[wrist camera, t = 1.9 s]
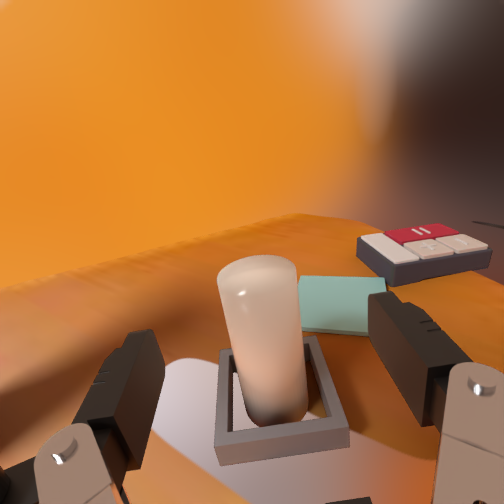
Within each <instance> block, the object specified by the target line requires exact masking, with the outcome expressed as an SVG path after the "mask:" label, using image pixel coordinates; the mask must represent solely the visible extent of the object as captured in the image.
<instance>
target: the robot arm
mask: <svg viewBox="0 0 504 504" xmlns="http://www.w3.org/2000/svg"><path fill="white" fill-rule="evenodd" d="M368 334H369V338H370V341H371V343H372V345H373V347H374V349H375V350H376V352H377V354H378V355H379V357H380V359H381V360H382V362H383V364H384V365H385V367H386V369H387V370H388V372H389V374H390V375H391V377H392V379H393V381H394V382H395V384H396V386H397V387H398V389H399V391H400V392H401V394H402V396H403V397H404V399H405V401H406V402H407V404H408V406H409V407H410V409H411V411H412V412H413V414H414V416H415V417H416V419H417V421H418V422H419V424H420V426H421V427H426V426H432V425H435V426H436V428H437V429H438V431H439V432H440V440H439V447H438V454H437V462H436V470H435V477H434V484H433V491H432V499H431V504H504V374H503V373H501V372H500V371H498V370H496V369H494V368H492V367H490V366H487V365H484V364H480V363H474V362H473V361H472V360H471V359H470V358H469V357H468V356H467V355H466V354H465V353H464V352H463V351H462V350H461V348H460V347H459V346H458V345H457V344H456V343H455V342H454V341H453V340H452V339H451V338H450V337H449V336H448V335H447V334H446V333H445V332H444V331H443V330H441V328H440V327H439V326H438V325H437V324H436V322H433V319H432V318H431V317H430V316H429V315H428V314H427V313H426V312H425V311H424V310H423V309H421V308H419V307H417V306H415V305H414V304H412V303H410V302H407V303H402V302H401V301H400V300H399V299H398V297H397V296H396V295H395V294H394V293H393V292H392V291H386V292H379V293H373V294H369V295H368ZM98 373H99V375H97V376H96V378H95V380H94V382H93V385H92V386H91V388H90V389H89V391H88V393H87V395H86V397H85V399H84V401H83V403H82V405H81V407H80V408H79V410H78V412H77V414H76V416H75V418H74V420H73V422H72V424H71V425H69V426H67V427H65V428H63V429H61V430H59V431H58V432H56V433H55V434H54V435H53V436H51V437H50V438H49V439H48V440H47V441H46V442H45V443H44V444H43V446H42V447H41V448H40V450H39V452H38V453H37V455H36V456H35V457H33V458H31V459H28V460H26V461H24V462H22V463H19V464H17V465H15V466H12V467H10V468H8V469H6V470H3V469H2V468H1V466H0V504H131V502H130V499H129V497H128V494H127V492H126V490H125V487H124V486H123V481H124V477H125V474H126V471H131V470H138V469H140V468H141V465H142V461H143V457H144V453H145V449H146V446H147V442H148V438H149V434H150V431H151V427H152V423H153V419H154V415H155V411H156V408H157V404H158V400H159V397H160V393H161V389H162V385H163V381H164V378H165V363H164V359H163V356H162V354H161V351H160V348H159V345H158V343H157V340H156V337H155V335H154V332H153V331H152V330H151V329H147V330H141V331H135V332H130V333H129V334H128V335H127V337H126V339H125V341H124V343H123V346H122V348H117V349H115V350H114V351H113V352H112V353H111V354H110V355H109V356H108V357H107V358H106V360H105V361H104V363H103V365H102V367H101V369H100V370H99V372H98ZM326 504H372V502H371V499H370V497H364V498H357V499H351V500H344V501H337V502H330V503H326Z"/></svg>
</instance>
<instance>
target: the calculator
mask: <svg viewBox="0 0 504 504" xmlns="http://www.w3.org/2000/svg"><path fill="white" fill-rule="evenodd" d="M491 255H492V249H491V248H488V245H487V244H485V243H482V242H480V241H478V240H476V239H473V238H471V237H469V236H467V235H464V234H459V232H458V231H456V230H453V229H451V228H449V227H447V226H444V225H442V224H439V223H436V224H429V225H423V226H416V227H410V228H403V229H397V230H391V231H385V233H383V234H382V233H377V234H371V235H364V236H361V237H358V238H357V252H356V256H357V257H358V258H359V259H360V260H361V261H362V262H363V263H365V264H366V265H367V266H368V267H369V268H370V269H371V270H372V271H373V272H375V273H376V274H377V275H378V276H379V277H382V278H385V282H386V283H387V284H388V285H389V286H390V287H397V286H402V285H406V284H411V283H415V282H419V281H421V280H423V279H428V278H433V277H439V276H445V275H451V274H456V273H461V272H465V271H470V270H471V271H474V270H480V269H486V268H488V267H489V263H490V259H491Z"/></svg>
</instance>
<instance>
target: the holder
mask: <svg viewBox="0 0 504 504" xmlns="http://www.w3.org/2000/svg"><path fill="white" fill-rule="evenodd" d="M303 348H304V358H305V362H307V361H311V365H312V368H313V371H314V375H315V378H316V381H317V384H318V388H319V391H320V394H321V398H322V401H323V404H324V407H325V411H326V414H327V417H326V418H320V419H313V420H306V421H300V422H293V423H286V424H279V425H273V426H266V427H259V428H253V429H246V430H240V431H233V373H234V372H237V368H236V364H235V359H234V355H233V350H232V348H229V349H222V350H220V354H219V372H218V389H217V404H216V422H215V439H214V448H215V452H216V455H217V458H218V461H219V464H220V466H225V465H233V464H239V463H245V462H253V461H259V460H266V459H273V458H280V457H287V456H293V455H300V454H307V453H314V452H320V451H327V450H334V449H341V448H347V447H350V441H349V440H350V439H349V424H348V422H347V419H346V416H345V413H344V411H343V408H342V405H341V403H340V400H339V397H338V394H337V392H336V389H335V386H334V383H333V381H332V378H331V375H330V372H329V370H328V367H327V364H326V361H325V359H324V356H323V353H322V350H321V348H320V345H319V342H318V339H317V337H316V335H313V336H307V337H303Z"/></svg>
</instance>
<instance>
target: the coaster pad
mask: <svg viewBox="0 0 504 504" xmlns="http://www.w3.org/2000/svg"><path fill="white" fill-rule="evenodd" d="M379 292H386V285H385V278H382V277H338V276H301V277H300V280H299V284H298V296H299V306H300V316H301V327H302V331H308V332H321V333H333V334H345V335H358V336H369V334H368V295H369V294H373V293H379Z"/></svg>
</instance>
